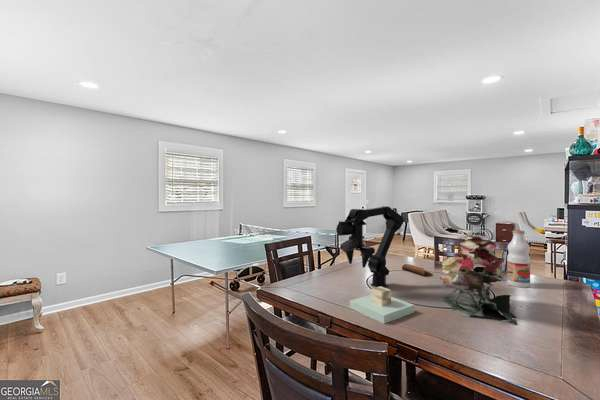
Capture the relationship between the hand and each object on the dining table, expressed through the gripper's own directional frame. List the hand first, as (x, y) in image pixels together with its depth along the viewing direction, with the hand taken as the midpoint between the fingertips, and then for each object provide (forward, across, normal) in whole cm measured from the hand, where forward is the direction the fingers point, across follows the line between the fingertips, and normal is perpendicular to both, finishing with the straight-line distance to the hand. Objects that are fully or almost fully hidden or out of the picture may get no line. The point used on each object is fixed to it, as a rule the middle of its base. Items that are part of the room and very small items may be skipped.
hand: (356, 265), depth 142 cm
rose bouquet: (+12, +44, +24) cm, 52 cm away
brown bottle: (+13, -2, +53) cm, 54 cm away
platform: (+12, +24, -10) cm, 29 cm away
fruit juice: (+12, +42, +73) cm, 85 cm away
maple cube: (+9, +24, -10) cm, 27 cm away
